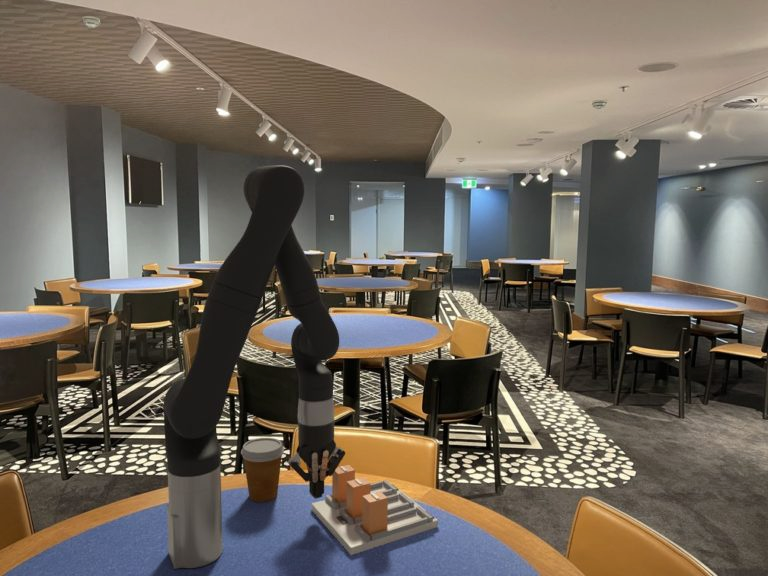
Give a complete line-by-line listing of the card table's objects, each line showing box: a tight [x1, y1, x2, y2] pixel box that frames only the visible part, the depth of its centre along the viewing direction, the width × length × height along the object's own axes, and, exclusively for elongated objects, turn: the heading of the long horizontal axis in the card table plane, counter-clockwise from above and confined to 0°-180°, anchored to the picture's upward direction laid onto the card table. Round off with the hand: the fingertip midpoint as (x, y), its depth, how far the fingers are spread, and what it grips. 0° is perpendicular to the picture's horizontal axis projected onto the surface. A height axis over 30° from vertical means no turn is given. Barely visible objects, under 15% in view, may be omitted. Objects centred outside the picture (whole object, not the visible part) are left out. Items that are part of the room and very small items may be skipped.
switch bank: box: [310, 479, 439, 556], centre depth 117 cm, size 20×19×2 cm
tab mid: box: [347, 476, 371, 520], centre depth 115 cm, size 4×3×7 cm
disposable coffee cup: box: [240, 437, 285, 503], centre depth 126 cm, size 10×10×12 cm
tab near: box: [362, 491, 388, 537], centre depth 109 cm, size 4×3×7 cm
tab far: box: [331, 464, 356, 505], centre depth 121 cm, size 4×3×7 cm
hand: (317, 496), depth 118 cm, fingers closed
